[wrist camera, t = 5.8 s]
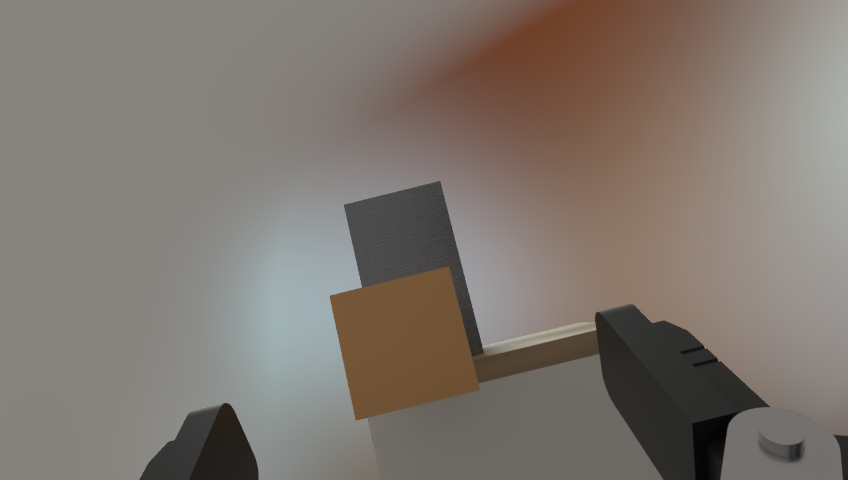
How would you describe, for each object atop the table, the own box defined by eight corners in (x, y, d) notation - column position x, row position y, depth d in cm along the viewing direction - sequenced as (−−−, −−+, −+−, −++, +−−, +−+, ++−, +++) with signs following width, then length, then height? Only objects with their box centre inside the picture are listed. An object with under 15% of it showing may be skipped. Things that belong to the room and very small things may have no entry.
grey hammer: (517, 381, 10) (431, 57, 11) (318, 429, 10) (253, 101, 11) (477, 347, 25) (441, 208, 26) (395, 367, 25) (363, 227, 26)
